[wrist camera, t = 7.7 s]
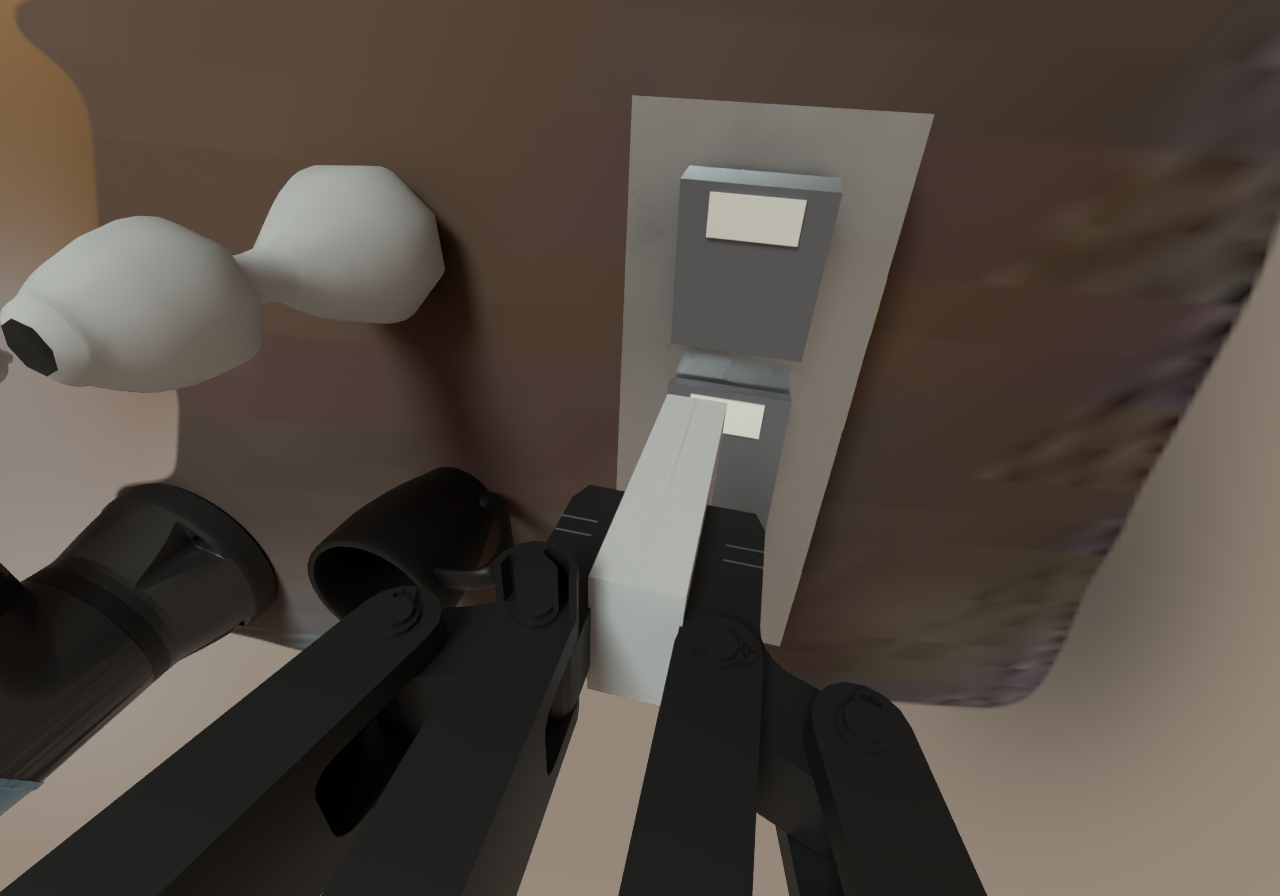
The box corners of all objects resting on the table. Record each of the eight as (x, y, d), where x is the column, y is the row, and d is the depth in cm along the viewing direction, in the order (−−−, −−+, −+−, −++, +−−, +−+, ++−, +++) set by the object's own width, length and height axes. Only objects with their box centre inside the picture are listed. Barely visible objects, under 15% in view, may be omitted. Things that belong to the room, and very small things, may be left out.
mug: (577, 539, 38) (518, 650, 30) (436, 547, 42) (352, 647, 34) (535, 436, 34) (457, 532, 26) (386, 456, 38) (279, 544, 31)
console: (632, 552, 37) (608, 615, 33) (661, 98, 24) (627, 94, 19) (786, 585, 35) (785, 657, 31) (916, 114, 22) (949, 115, 17)
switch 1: (678, 324, 23) (670, 345, 21) (689, 165, 19) (679, 179, 17) (802, 341, 22) (801, 364, 20) (841, 177, 18) (842, 194, 17)
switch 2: (657, 502, 26) (649, 516, 24) (674, 376, 24) (667, 383, 23) (764, 523, 25) (763, 539, 23) (790, 394, 23) (791, 402, 22)
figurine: (388, 324, 33) (-34, 540, 16) (307, 191, 30) (-317, 289, 13) (491, 280, 30) (100, 490, 13) (412, 126, 27) (-228, 146, 10)
